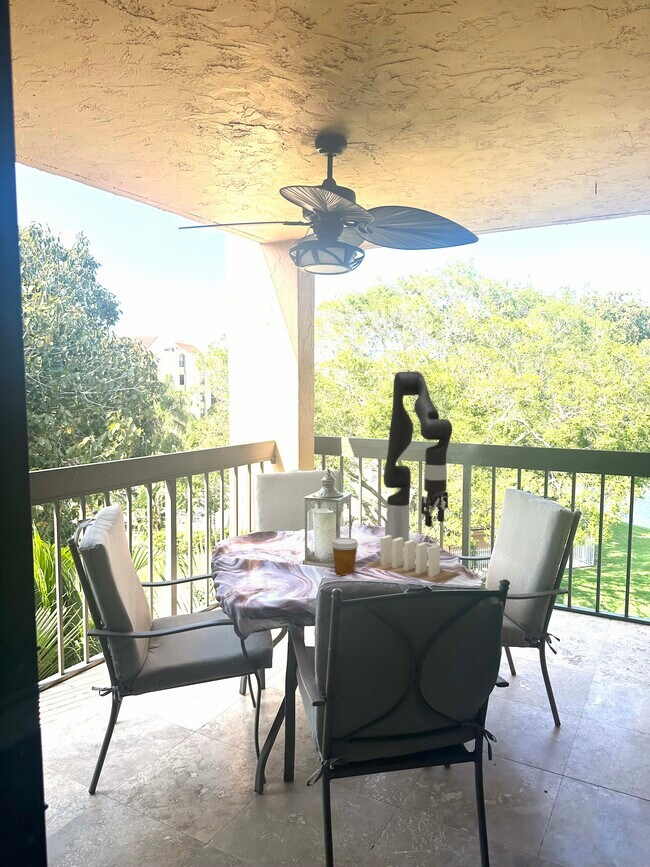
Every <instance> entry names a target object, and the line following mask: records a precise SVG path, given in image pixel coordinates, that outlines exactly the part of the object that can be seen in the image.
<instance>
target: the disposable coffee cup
mask: <svg viewBox="0 0 650 867" xmlns="http://www.w3.org/2000/svg"><path fill="white" fill-rule="evenodd" d="M358 546H359V542H358V541H357V539H356V538H353V537H337V538H334V539H332V542H331V548H332V553H333V561H334V569H335V575H336V576H338V575H340V576H339V577H342V576H348V575H351V574H353V573H354V572H355V567H356V565H355V564H356V558H357V550H358Z"/></svg>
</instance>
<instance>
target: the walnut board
mask: <svg viewBox="0 0 650 867" xmlns="http://www.w3.org/2000/svg"><path fill="white" fill-rule="evenodd" d="M364 566H365V567H370V568H373V569H376V570H382V571H385V572H390V573H394V574H398V575H402V576H407V577H410V578H414V579H418V580H422V581H427V582H431V583H434V584H438V583H441V584H440V585H444V584H445V583H448V582H450V581H451V580H453V579H455V578H457V577H458V576H461V575H462V573H459V572H455V571H452V570H451V571H450V570H447V569H441V568H440V573H439V574H437V575H435V576H433V577H430V576H428V565H427V571H425V572H423V573H421V574H418V573H416V562H415V568H413V569H411V570H408V571H405V570H403V568H404V560H403V565H402V566H399V567H397V568H393V567H392V562H391V563H389V564H386V565H380V558H378V559H376V560H373V561H371V562H368V563H366V564H364Z"/></svg>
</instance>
